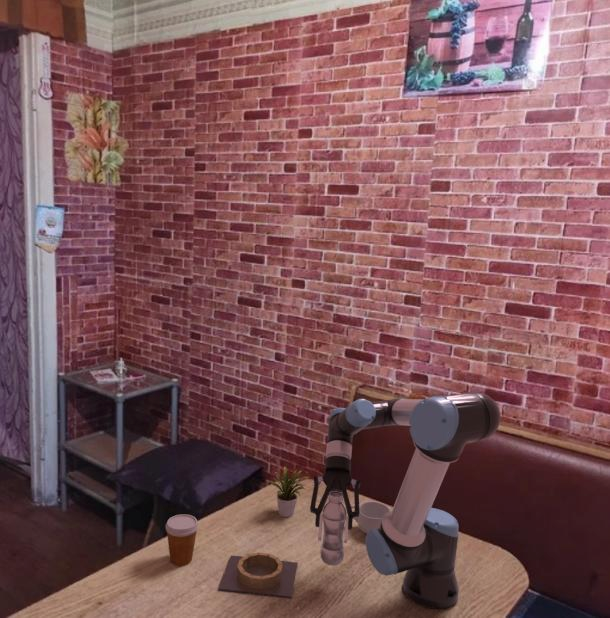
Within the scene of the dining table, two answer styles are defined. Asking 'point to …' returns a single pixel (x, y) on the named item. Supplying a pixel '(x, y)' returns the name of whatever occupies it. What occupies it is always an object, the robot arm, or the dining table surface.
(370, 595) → the dining table surface
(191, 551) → the disposable coffee cup
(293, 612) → the dining table surface
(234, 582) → the collar stand
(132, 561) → the dining table surface
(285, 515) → the house plant
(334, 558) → the plastic bottle
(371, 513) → the teacup
